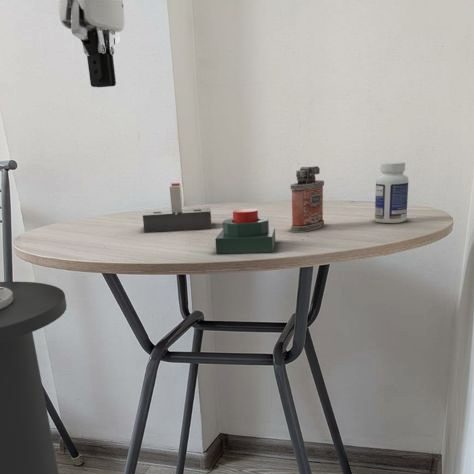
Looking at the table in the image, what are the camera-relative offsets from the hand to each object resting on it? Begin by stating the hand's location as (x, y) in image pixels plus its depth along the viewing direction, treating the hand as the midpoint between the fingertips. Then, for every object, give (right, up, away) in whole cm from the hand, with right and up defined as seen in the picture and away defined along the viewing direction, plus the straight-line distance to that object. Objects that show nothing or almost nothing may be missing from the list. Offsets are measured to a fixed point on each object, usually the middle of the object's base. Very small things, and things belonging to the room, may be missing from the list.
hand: (103, 86), depth 83 cm
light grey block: (+8, -12, +23) cm, 27 cm away
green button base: (+21, -23, +3) cm, 31 cm away
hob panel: (+8, -15, +24) cm, 29 cm away
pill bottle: (+46, -15, +19) cm, 52 cm away
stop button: (+20, -19, +1) cm, 28 cm away
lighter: (+31, -17, +16) cm, 39 cm away
